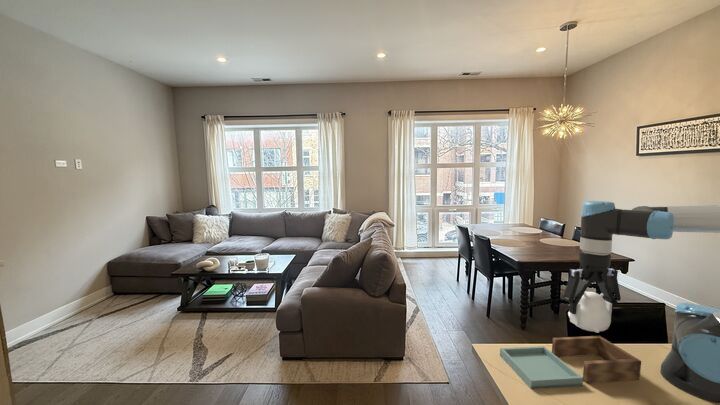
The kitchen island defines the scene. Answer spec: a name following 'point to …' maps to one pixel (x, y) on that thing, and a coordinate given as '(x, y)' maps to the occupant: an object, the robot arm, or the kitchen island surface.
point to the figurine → (593, 312)
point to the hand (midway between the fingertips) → (590, 322)
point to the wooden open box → (608, 370)
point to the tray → (540, 367)
